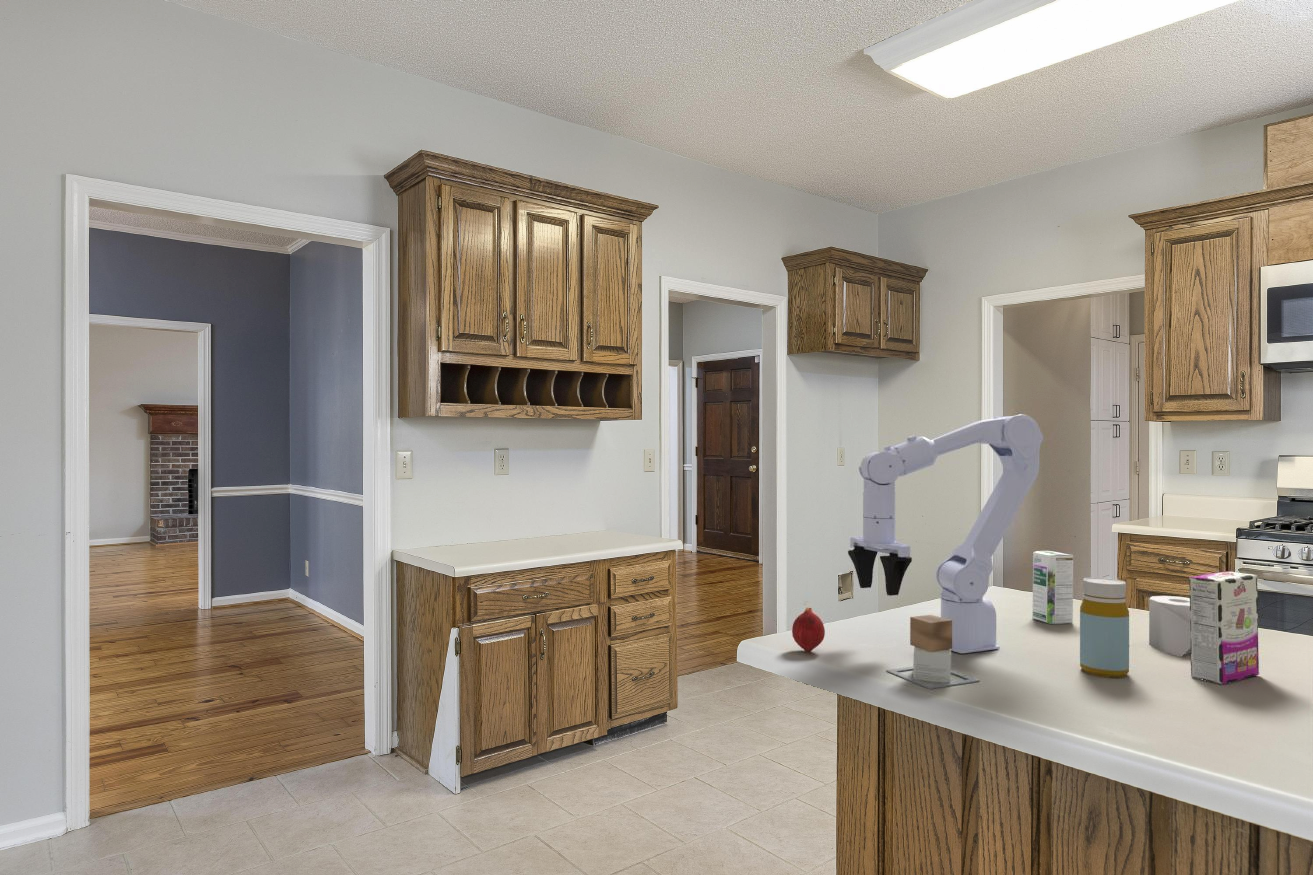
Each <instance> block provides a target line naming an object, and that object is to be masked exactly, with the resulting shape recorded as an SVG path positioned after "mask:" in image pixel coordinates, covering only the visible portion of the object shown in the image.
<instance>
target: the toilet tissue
mask: <svg viewBox="0 0 1313 875" xmlns="http://www.w3.org/2000/svg"><path fill="white" fill-rule="evenodd" d="M1148 606H1149V607H1148V608H1149V609H1148V619H1149V620H1148V622H1149V623H1148V628H1149V629H1148V630H1149V631H1148V632H1149V633H1148V636H1149V638H1148V641H1149V642H1148V645H1149V646H1152V647H1153V646H1154V648H1155V649H1159V650H1160V651H1162V650H1163V651H1162V652H1164V651H1165V653H1166V652H1167V653H1166V654H1169V653H1171V654H1170V655H1173V654H1175V655H1174V656H1177V655H1178V656H1177V657H1180V656H1182V657H1183V655H1185V654H1188V653H1191V637H1190V630H1191V629H1190V597H1184V596H1173V595H1172V596H1171V595H1157V596H1156V595H1154V596H1153V595H1152V596H1150V597H1149V598H1148Z"/></svg>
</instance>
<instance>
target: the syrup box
mask: <svg viewBox="0 0 1313 875" xmlns="http://www.w3.org/2000/svg"><path fill="white" fill-rule="evenodd" d="M1073 612H1074V554H1067V553H1062V552H1058V551H1051V550H1037V551H1033V553H1032V613H1031V617H1032V620H1037V621H1041V622H1043V623H1046V624H1049V625H1061V624H1073V622H1074V620H1073V619H1074V617H1073V616H1074V615H1073V614H1074V613H1073Z"/></svg>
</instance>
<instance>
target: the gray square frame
mask: <svg viewBox="0 0 1313 875" xmlns="http://www.w3.org/2000/svg"><path fill="white" fill-rule="evenodd" d="M885 671H886V672H887V673H889V674H892V675H893V676H896V675H897V677H899V678H902V679H904V680H906V681H909V682H912V683H914V684H915V685H919V686H921V687H923V688H926V689H928V690H933V689H939V688H946V687H953V686H958V685H959V686H961V685H964V684H965V685H966V684H972V683H979V682H980V679H978V678H974V677H971V676H969V675H966V674H963V673H960V672H958V671H954V670H953V669H951V675H954V676H957V677H959V678H963V679H964V680H963V679H962V680H957V681H956V680H955V681H950V682H948V683H936V684H928V683H926V682H924V681H921V680H916V679H914V678H913V677H911V676H908V675H905V674H903V673H901V672H908V671H913V666H908V667H899V668H891V669H886V670H885Z"/></svg>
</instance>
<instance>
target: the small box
mask: <svg viewBox="0 0 1313 875" xmlns="http://www.w3.org/2000/svg"><path fill="white" fill-rule="evenodd" d="M913 647H914V648H913V665H912V667H913V670H912V673H913V674H912V675H913V677H912V678H914V679H916V680H918V681H921V682H925V681H926V682H933V683H939V684H942V683H948V682H951V675H952V674H951V670H952V650H951V649H946V650H939V651H932V652H930V651H927V650H924V649H921V648H918V647H915V646H913Z"/></svg>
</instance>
